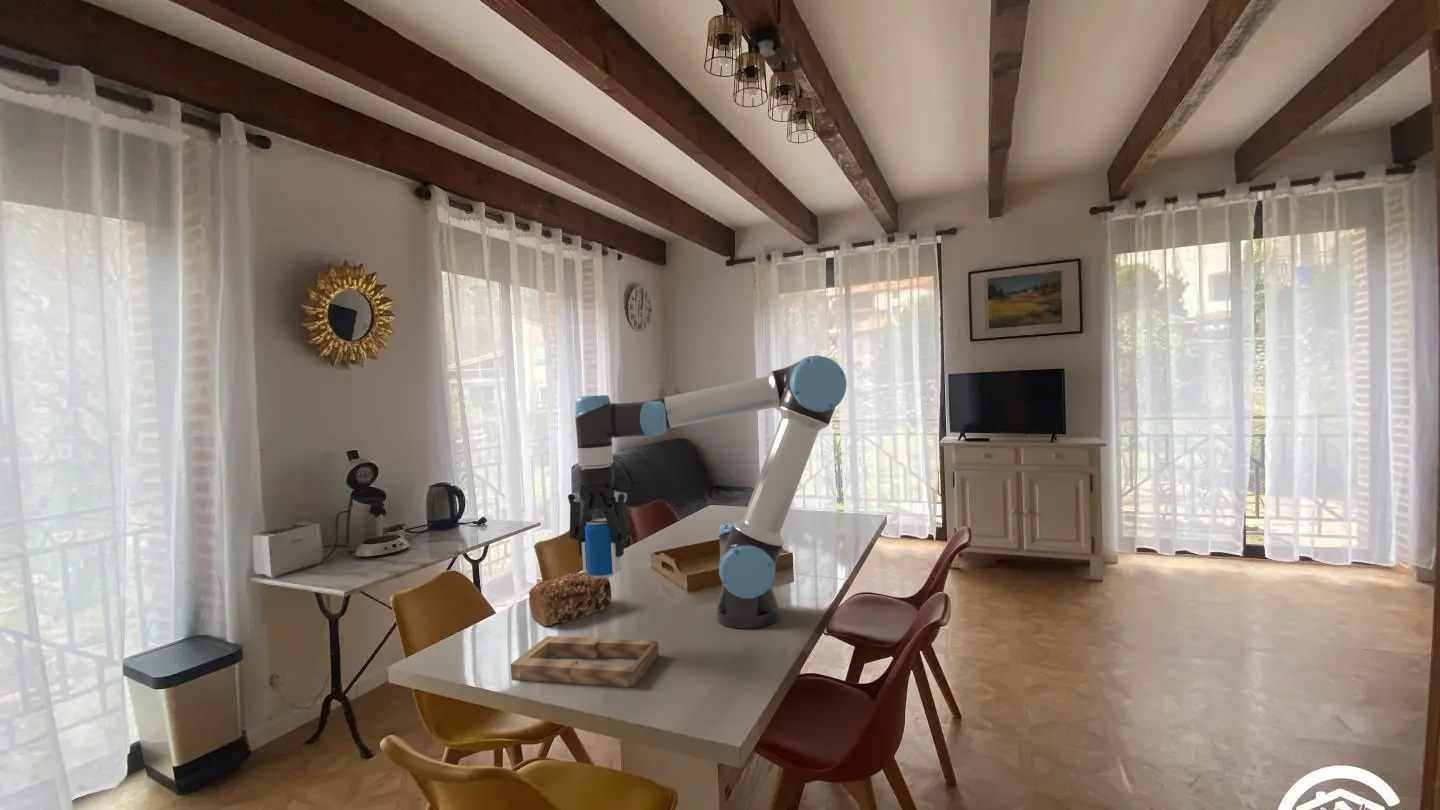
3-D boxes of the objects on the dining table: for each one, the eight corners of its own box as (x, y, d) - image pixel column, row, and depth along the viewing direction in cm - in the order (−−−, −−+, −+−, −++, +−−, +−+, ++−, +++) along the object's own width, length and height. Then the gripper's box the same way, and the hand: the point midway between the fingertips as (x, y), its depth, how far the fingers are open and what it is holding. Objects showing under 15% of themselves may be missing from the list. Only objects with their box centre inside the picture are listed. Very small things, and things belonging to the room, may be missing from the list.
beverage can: (609, 579, 129) (606, 523, 129) (582, 579, 131) (578, 523, 131) (622, 570, 135) (619, 517, 135) (595, 570, 137) (592, 517, 137)
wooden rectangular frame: (658, 655, 128) (658, 641, 128) (633, 687, 114) (632, 671, 114) (548, 649, 134) (547, 636, 134) (511, 679, 121) (510, 664, 120)
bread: (545, 630, 146) (542, 588, 146) (528, 618, 155) (526, 579, 154) (614, 609, 158) (611, 571, 158) (595, 600, 166) (592, 563, 166)
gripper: (643, 463, 133) (649, 567, 134) (566, 464, 139) (572, 564, 139) (628, 467, 126) (635, 577, 127) (547, 469, 132) (554, 574, 132)
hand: (602, 570), depth 133 cm, fingers closed on beverage can, 6 cm apart
